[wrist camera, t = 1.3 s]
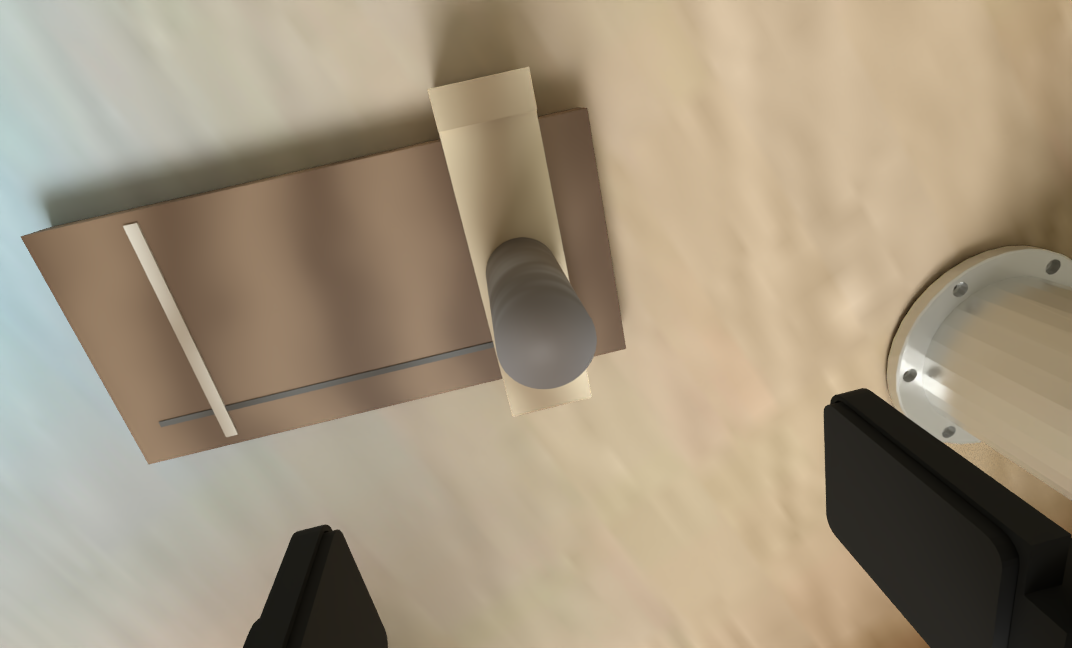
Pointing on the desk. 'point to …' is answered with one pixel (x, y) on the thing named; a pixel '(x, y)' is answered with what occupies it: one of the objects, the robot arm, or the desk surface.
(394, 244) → the walnut board
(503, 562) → the desk surface
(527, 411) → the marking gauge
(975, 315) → the robot arm
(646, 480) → the desk surface
